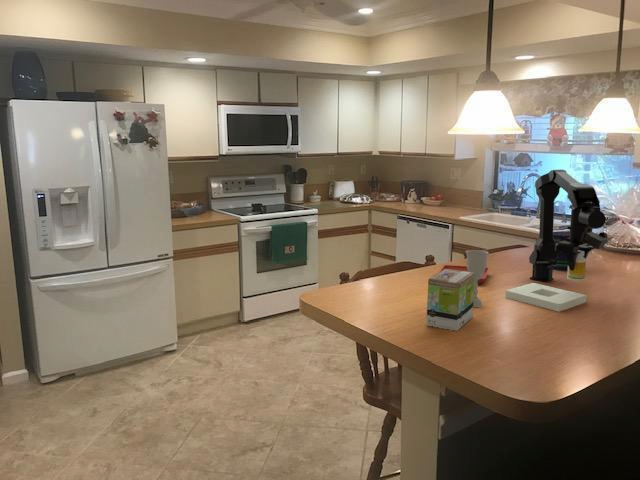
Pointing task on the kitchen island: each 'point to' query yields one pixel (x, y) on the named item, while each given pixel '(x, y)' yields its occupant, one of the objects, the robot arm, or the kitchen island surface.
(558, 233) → the storage jar
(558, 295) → the socket board
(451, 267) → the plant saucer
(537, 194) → the robot arm
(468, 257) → the chalice
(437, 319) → the tea box
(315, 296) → the kitchen island surface
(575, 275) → the supplement bottle
